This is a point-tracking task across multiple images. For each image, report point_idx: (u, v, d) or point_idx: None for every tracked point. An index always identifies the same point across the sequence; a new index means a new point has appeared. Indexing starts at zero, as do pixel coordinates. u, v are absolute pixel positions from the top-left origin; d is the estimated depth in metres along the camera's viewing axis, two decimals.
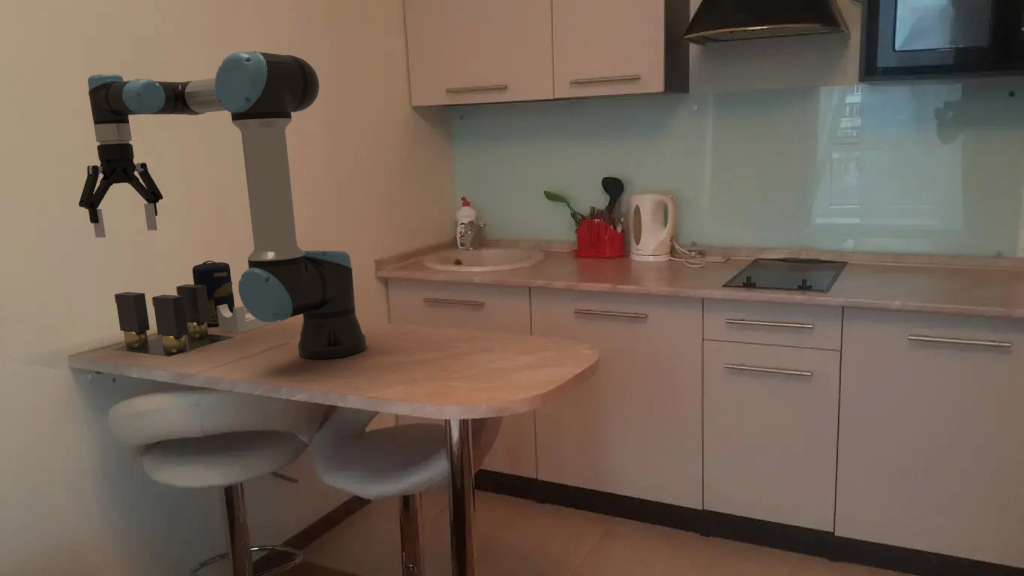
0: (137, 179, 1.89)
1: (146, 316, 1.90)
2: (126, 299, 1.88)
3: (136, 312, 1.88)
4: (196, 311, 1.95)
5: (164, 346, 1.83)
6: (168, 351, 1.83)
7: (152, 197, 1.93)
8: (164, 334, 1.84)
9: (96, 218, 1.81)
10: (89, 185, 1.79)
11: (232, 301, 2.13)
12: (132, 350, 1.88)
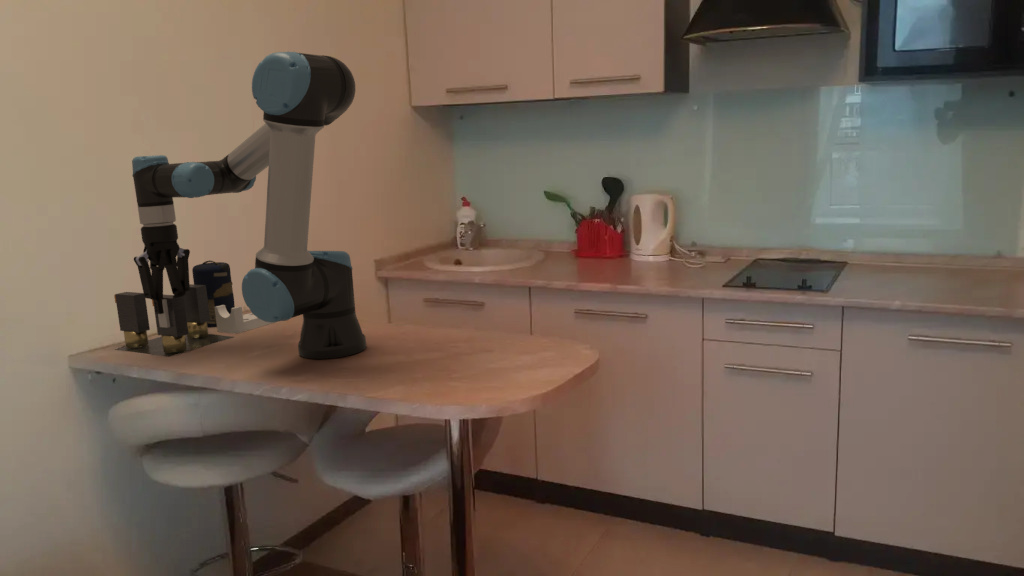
0: (176, 264, 1.82)
1: (146, 316, 1.90)
2: (126, 299, 1.88)
3: (136, 312, 1.88)
4: (196, 311, 1.95)
5: (164, 346, 1.83)
6: (168, 351, 1.83)
7: (180, 288, 1.84)
8: (164, 334, 1.84)
9: (161, 308, 1.81)
10: (145, 278, 1.77)
11: (232, 301, 2.13)
12: (132, 350, 1.88)
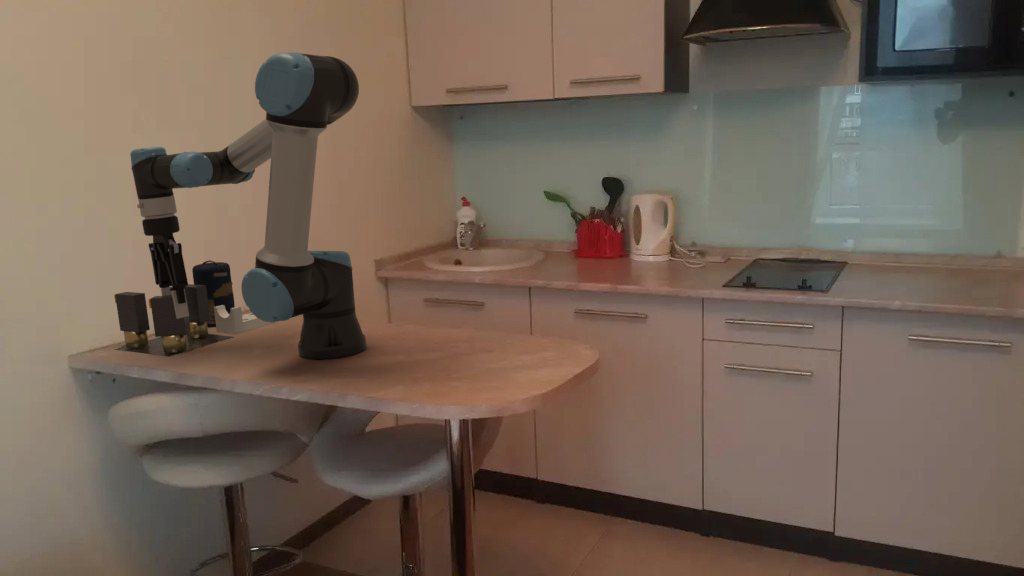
0: None
1: (146, 316, 1.90)
2: (126, 299, 1.88)
3: (136, 312, 1.88)
4: (196, 311, 1.95)
5: (169, 346, 1.82)
6: (175, 350, 1.83)
7: None
8: (166, 335, 1.83)
9: None
10: (182, 264, 1.78)
11: (232, 301, 2.13)
12: (132, 350, 1.88)
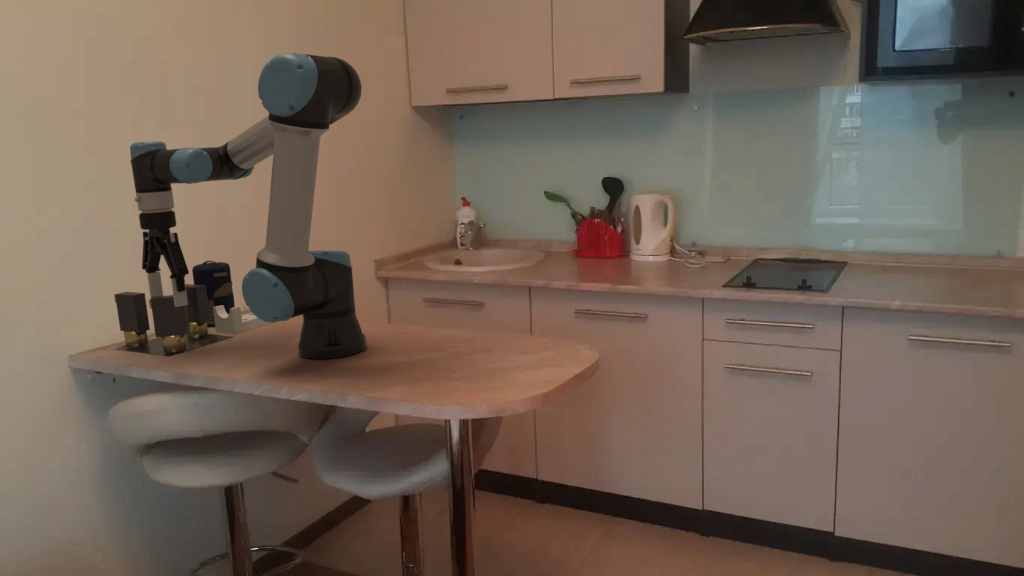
0: None
1: (146, 316, 1.90)
2: (126, 299, 1.88)
3: (136, 312, 1.88)
4: (196, 311, 1.95)
5: (171, 346, 1.82)
6: (177, 350, 1.83)
7: None
8: (167, 335, 1.83)
9: None
10: (180, 252, 1.76)
11: (232, 301, 2.13)
12: (132, 350, 1.88)
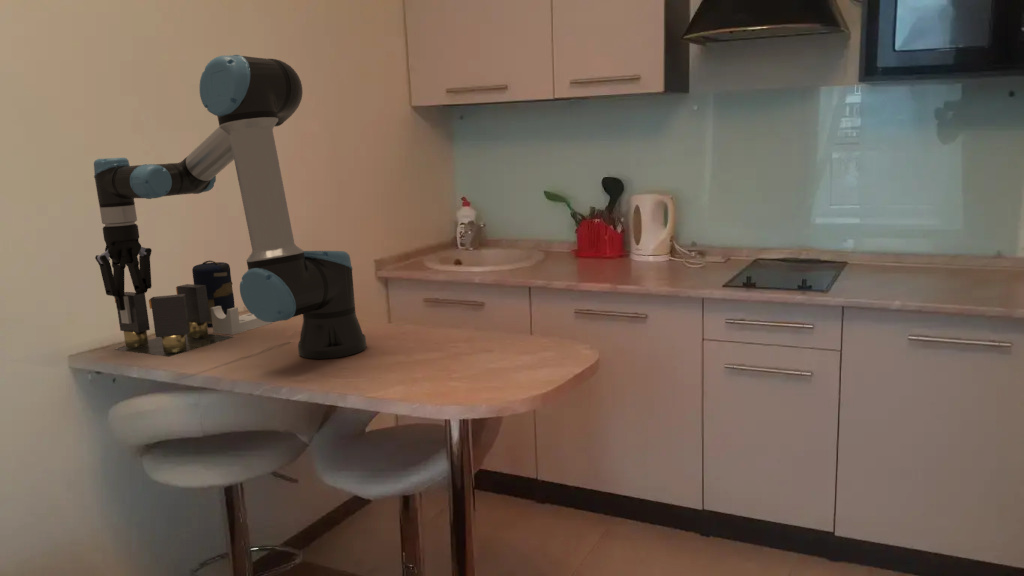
0: (137, 262, 1.89)
1: (146, 316, 1.90)
2: None
3: (136, 312, 1.88)
4: (196, 311, 1.95)
5: (171, 346, 1.82)
6: (177, 350, 1.83)
7: (142, 286, 1.91)
8: (167, 335, 1.83)
9: (123, 305, 1.88)
10: (107, 275, 1.84)
11: (232, 301, 2.13)
12: (132, 350, 1.88)
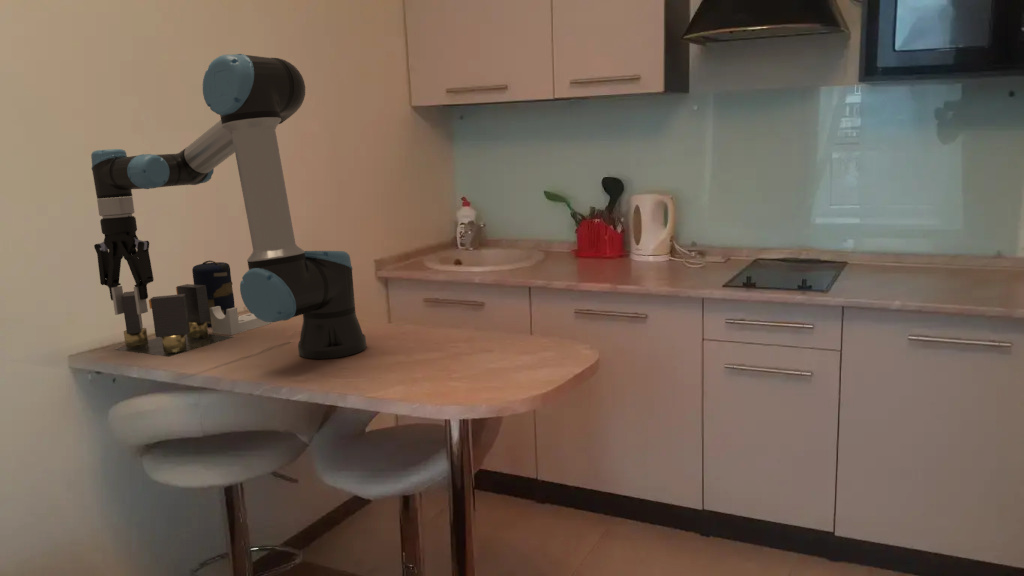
0: (126, 256, 1.85)
1: (137, 318, 1.88)
2: None
3: (125, 313, 1.87)
4: (196, 311, 1.95)
5: (171, 346, 1.82)
6: (177, 350, 1.83)
7: (137, 280, 1.86)
8: (167, 335, 1.83)
9: None
10: None
11: (232, 301, 2.13)
12: (132, 350, 1.88)
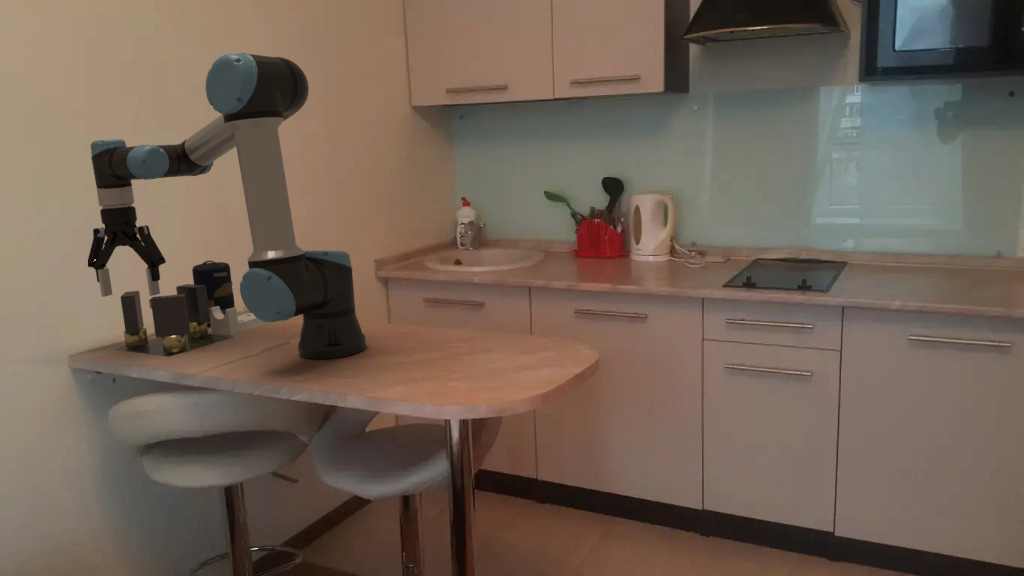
0: (130, 243, 1.85)
1: (135, 318, 1.88)
2: None
3: (124, 313, 1.87)
4: (196, 311, 1.95)
5: (171, 346, 1.82)
6: (177, 350, 1.83)
7: (147, 262, 1.85)
8: (167, 335, 1.83)
9: None
10: None
11: (232, 301, 2.13)
12: (132, 350, 1.88)
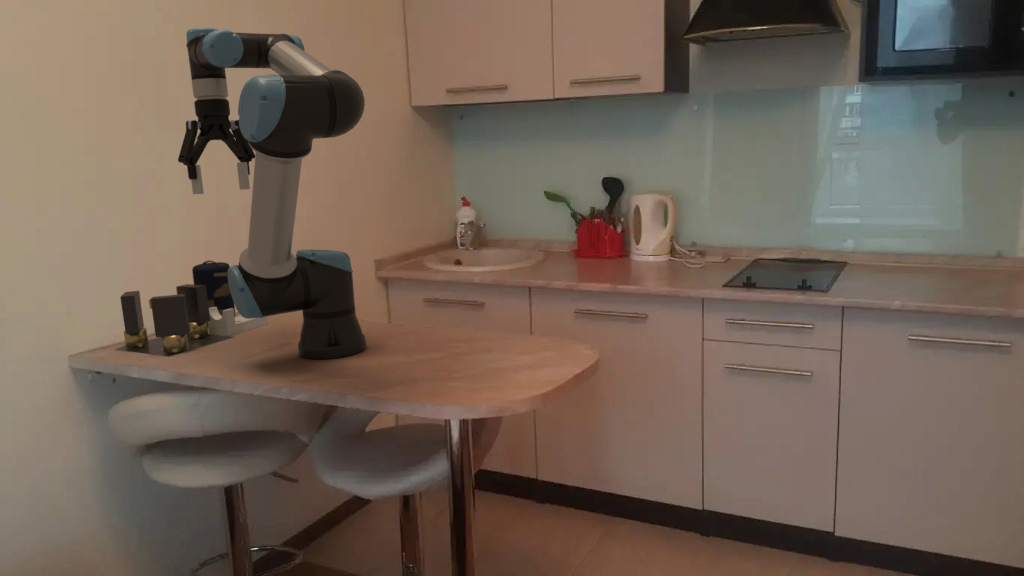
0: (232, 136, 1.86)
1: (135, 318, 1.88)
2: None
3: (124, 313, 1.87)
4: (196, 311, 1.95)
5: (171, 346, 1.82)
6: (177, 350, 1.83)
7: (245, 155, 1.90)
8: (167, 335, 1.83)
9: (195, 174, 1.79)
10: (189, 140, 1.77)
11: (232, 301, 2.13)
12: (132, 350, 1.88)
